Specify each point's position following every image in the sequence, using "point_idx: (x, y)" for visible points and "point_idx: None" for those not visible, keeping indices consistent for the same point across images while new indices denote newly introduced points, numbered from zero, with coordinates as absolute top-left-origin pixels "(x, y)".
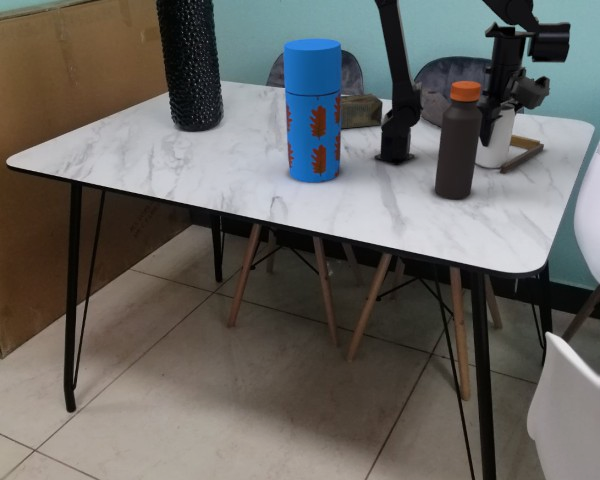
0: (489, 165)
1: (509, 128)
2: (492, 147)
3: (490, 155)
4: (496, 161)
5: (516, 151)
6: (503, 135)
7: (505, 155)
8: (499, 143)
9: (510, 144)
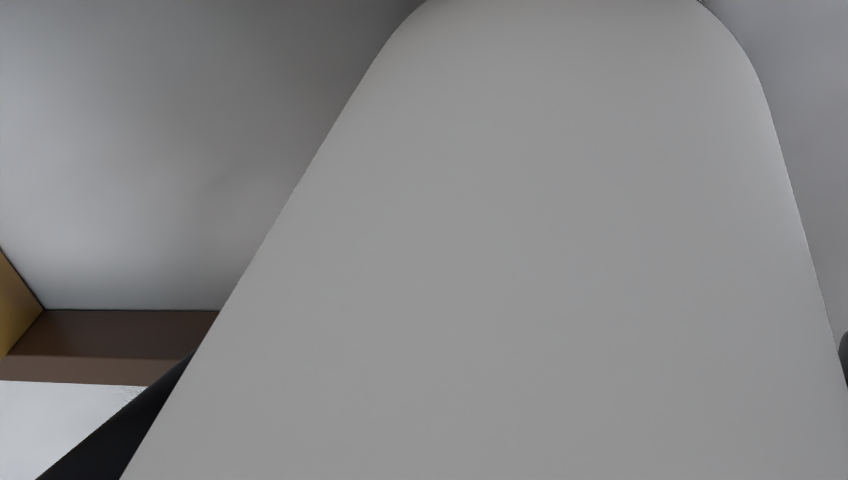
0: (753, 72)
1: (487, 474)
2: (809, 259)
3: (785, 168)
4: (704, 35)
5: (37, 137)
6: (702, 359)
7: (529, 21)
8: (737, 239)
9: (2, 255)
